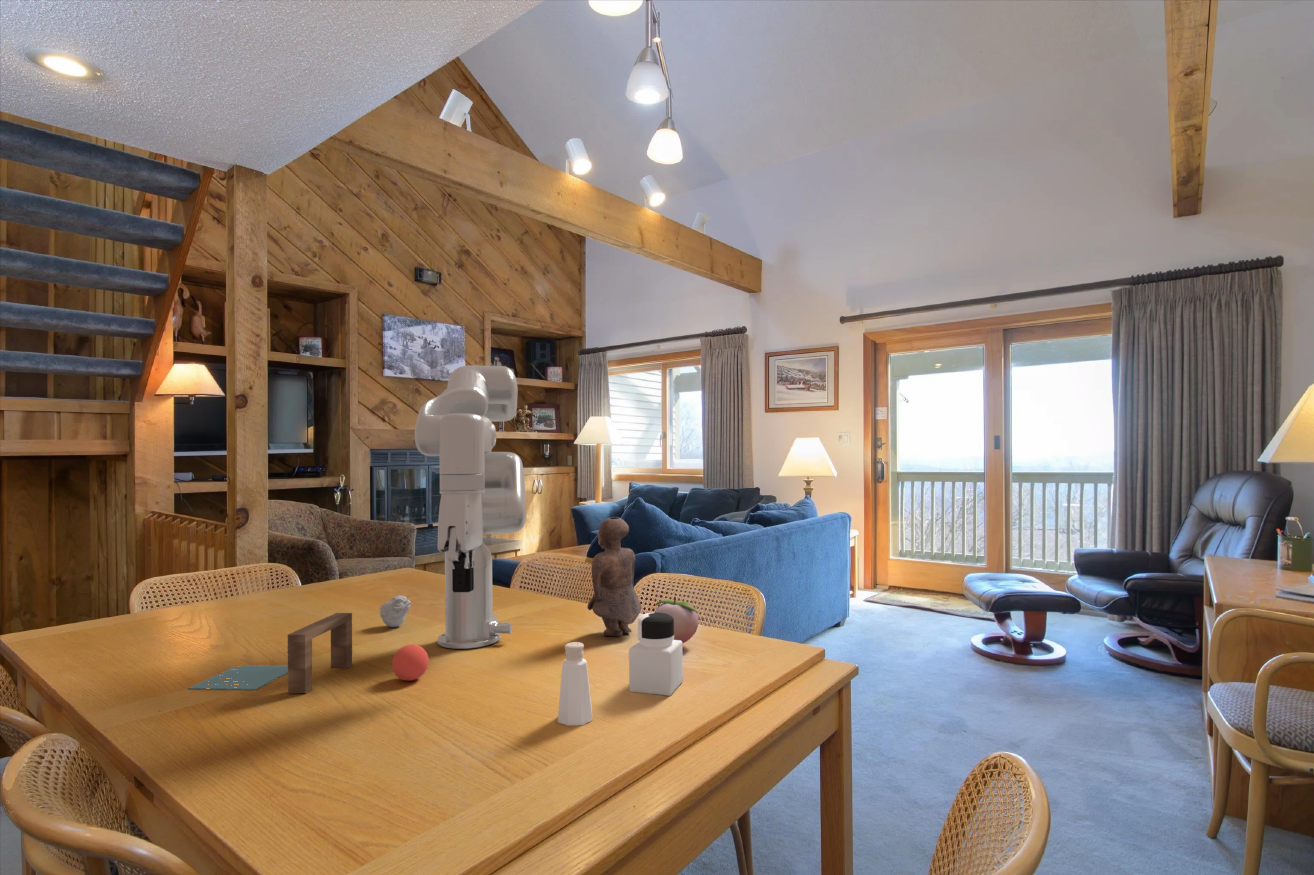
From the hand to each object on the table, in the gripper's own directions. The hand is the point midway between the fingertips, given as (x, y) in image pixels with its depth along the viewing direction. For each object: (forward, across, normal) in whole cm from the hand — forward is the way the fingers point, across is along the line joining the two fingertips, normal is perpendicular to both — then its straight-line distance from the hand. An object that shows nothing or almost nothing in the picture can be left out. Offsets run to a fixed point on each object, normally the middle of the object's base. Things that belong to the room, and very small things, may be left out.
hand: (463, 591), depth 119 cm
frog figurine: (+15, -36, -29) cm, 48 cm away
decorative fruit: (+15, -22, +35) cm, 44 cm away
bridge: (+15, -1, -26) cm, 30 cm away
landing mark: (+15, -1, -40) cm, 43 cm away
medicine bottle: (+16, +1, +33) cm, 37 cm away
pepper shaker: (+16, +15, +22) cm, 31 cm away
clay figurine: (+15, -31, +22) cm, 41 cm away
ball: (+12, 0, -10) cm, 16 cm away
